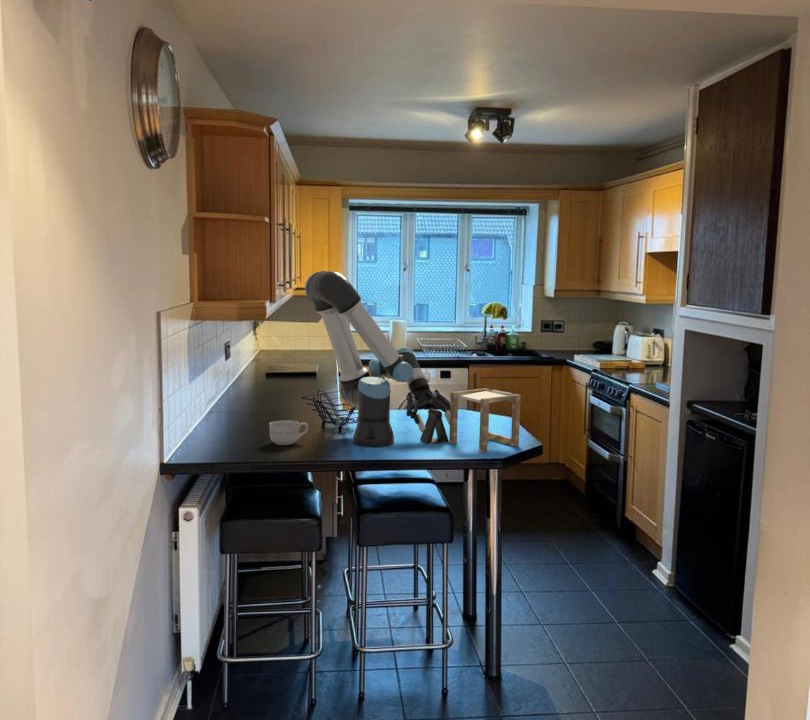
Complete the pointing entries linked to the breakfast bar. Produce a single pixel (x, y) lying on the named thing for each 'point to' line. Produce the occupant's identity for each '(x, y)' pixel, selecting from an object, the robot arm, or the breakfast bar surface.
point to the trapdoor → (486, 395)
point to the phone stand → (434, 423)
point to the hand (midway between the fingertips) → (438, 428)
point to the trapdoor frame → (486, 419)
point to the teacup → (286, 432)
